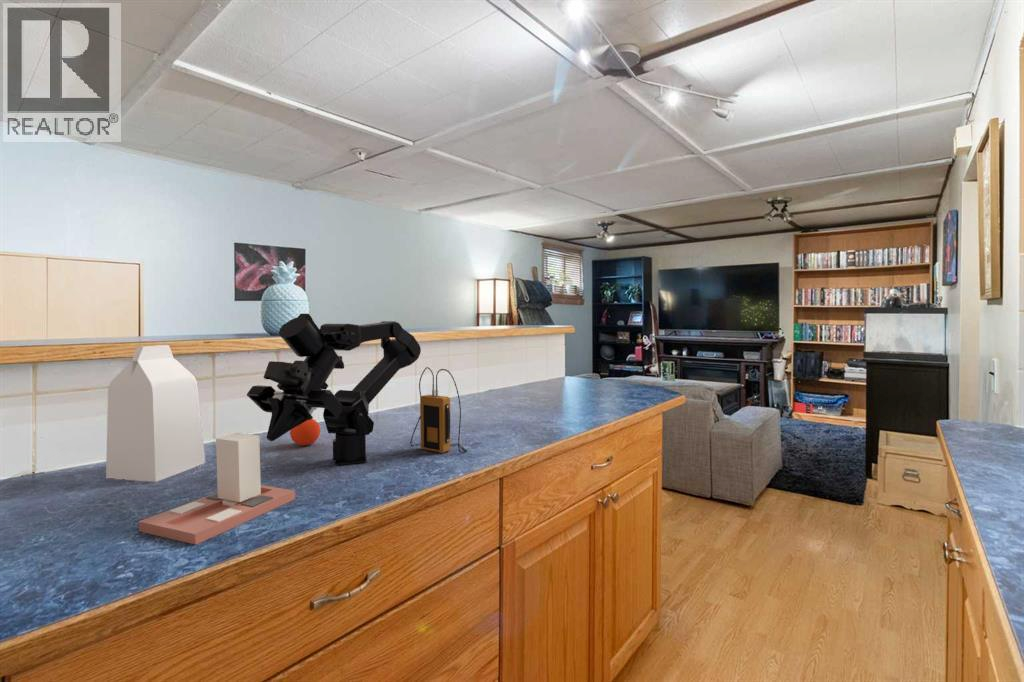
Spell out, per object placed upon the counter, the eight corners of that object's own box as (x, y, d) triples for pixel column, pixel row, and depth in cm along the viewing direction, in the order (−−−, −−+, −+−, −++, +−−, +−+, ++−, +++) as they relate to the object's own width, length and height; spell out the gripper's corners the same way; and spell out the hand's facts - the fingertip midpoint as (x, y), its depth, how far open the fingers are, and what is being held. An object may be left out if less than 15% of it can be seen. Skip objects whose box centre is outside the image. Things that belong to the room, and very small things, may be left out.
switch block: (244, 490, 88) (244, 481, 88) (295, 499, 84) (295, 489, 84) (139, 531, 71) (138, 520, 71) (195, 544, 67) (195, 533, 67)
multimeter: (481, 446, 118) (480, 366, 117) (455, 456, 110) (454, 369, 108) (436, 438, 126) (435, 362, 125) (408, 447, 117) (407, 366, 116)
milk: (155, 481, 93) (150, 348, 91) (106, 478, 95) (100, 347, 93) (205, 463, 105) (201, 344, 103) (160, 460, 107) (156, 343, 105)
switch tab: (239, 495, 83) (237, 433, 83) (261, 499, 81) (259, 435, 81) (218, 504, 79) (215, 438, 79) (240, 508, 78) (238, 441, 77)
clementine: (286, 451, 114) (286, 421, 114) (284, 444, 120) (283, 416, 120) (322, 446, 118) (321, 418, 118) (318, 440, 124) (318, 413, 124)
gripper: (254, 344, 93) (201, 410, 84) (330, 346, 87) (283, 418, 77) (286, 379, 101) (242, 443, 91) (359, 384, 95) (319, 453, 85)
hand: (269, 439), depth 86 cm, fingers closed
